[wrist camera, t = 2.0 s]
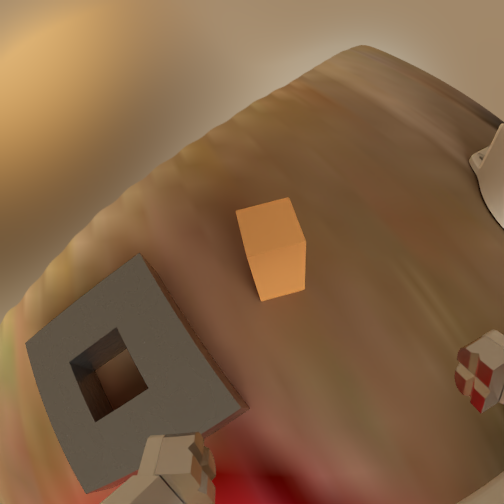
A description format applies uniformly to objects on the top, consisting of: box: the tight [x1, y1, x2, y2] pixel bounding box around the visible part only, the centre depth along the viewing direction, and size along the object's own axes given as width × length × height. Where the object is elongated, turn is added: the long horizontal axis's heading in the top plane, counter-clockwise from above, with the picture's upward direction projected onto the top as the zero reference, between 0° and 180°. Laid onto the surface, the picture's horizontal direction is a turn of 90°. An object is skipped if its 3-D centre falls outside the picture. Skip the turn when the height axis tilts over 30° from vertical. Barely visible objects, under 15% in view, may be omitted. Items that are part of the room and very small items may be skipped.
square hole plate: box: [25, 253, 250, 494], centre depth 22 cm, size 16×16×4 cm
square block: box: [236, 197, 306, 301], centre depth 24 cm, size 4×4×8 cm
